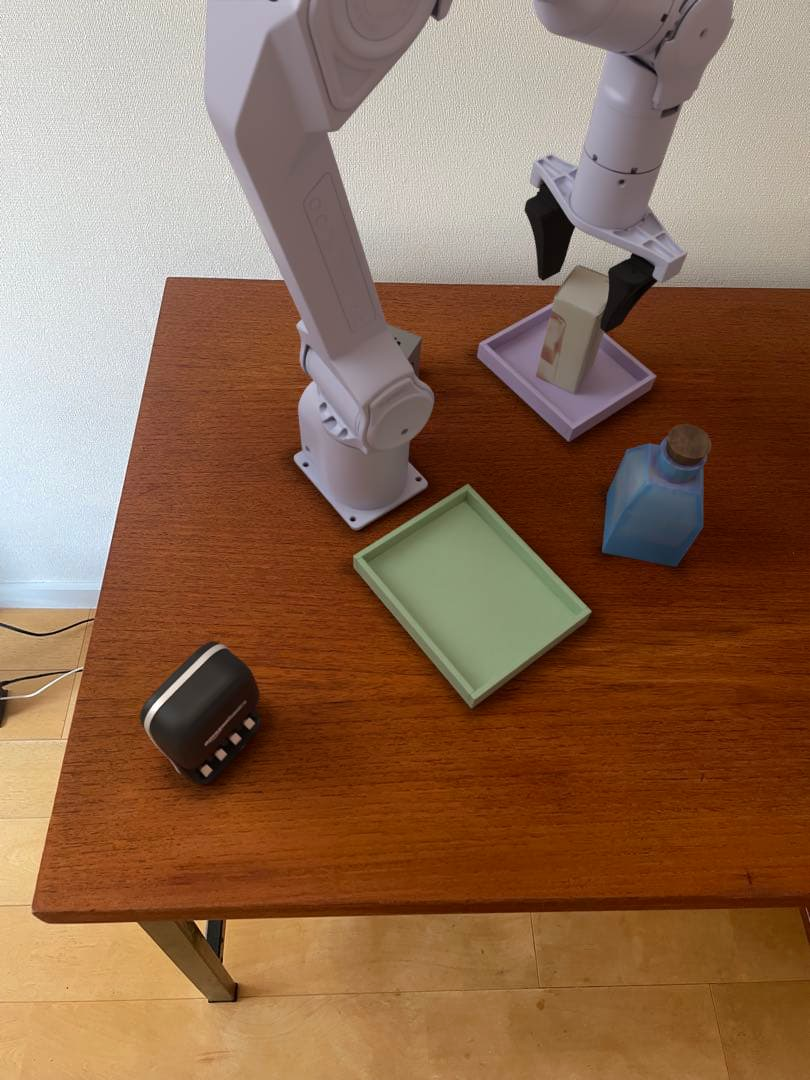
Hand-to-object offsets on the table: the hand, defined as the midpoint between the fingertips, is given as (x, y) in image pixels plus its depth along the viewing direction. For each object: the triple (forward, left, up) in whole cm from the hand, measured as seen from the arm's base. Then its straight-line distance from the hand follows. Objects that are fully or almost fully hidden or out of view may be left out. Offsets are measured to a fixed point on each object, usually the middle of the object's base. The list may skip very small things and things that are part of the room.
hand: (579, 299), depth 68 cm
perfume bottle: (+17, -6, -10) cm, 20 cm away
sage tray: (+13, -22, -10) cm, 27 cm away
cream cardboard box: (0, +1, -10) cm, 10 cm away
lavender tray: (0, +1, -10) cm, 10 cm away
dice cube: (-9, -14, -10) cm, 19 cm away
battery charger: (+12, -44, -10) cm, 46 cm away
